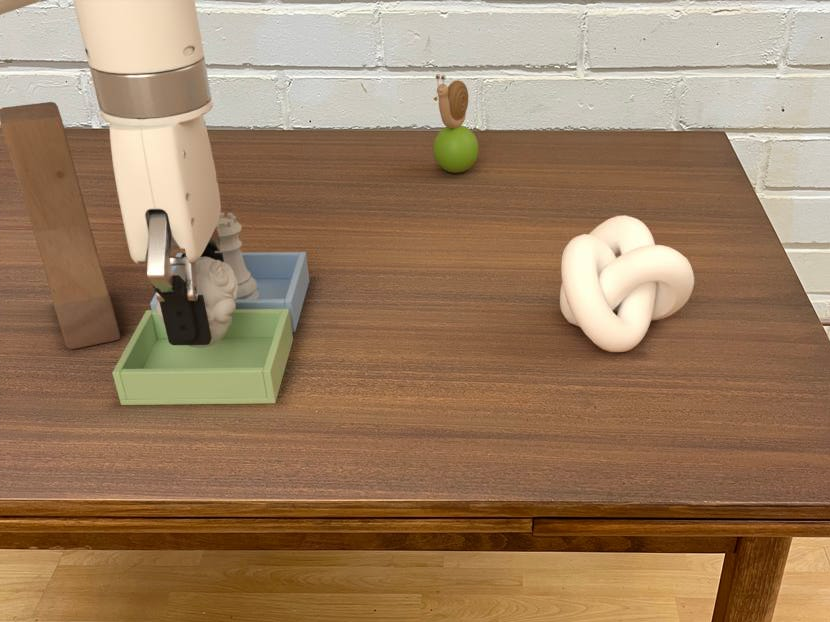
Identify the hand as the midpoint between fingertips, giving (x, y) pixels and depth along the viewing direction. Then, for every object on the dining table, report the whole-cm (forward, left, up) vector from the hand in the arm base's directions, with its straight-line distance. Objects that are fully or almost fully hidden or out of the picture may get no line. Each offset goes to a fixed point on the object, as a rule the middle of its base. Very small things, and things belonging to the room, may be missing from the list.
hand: (200, 318), depth 76 cm
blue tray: (0, +11, -5) cm, 12 cm away
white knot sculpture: (+34, +7, -5) cm, 35 cm away
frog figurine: (0, 0, -2) cm, 2 cm away
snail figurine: (+20, +45, -5) cm, 50 cm away
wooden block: (-13, +8, -5) cm, 16 cm away
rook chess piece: (0, +11, -5) cm, 12 cm away
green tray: (0, 0, -5) cm, 5 cm away
